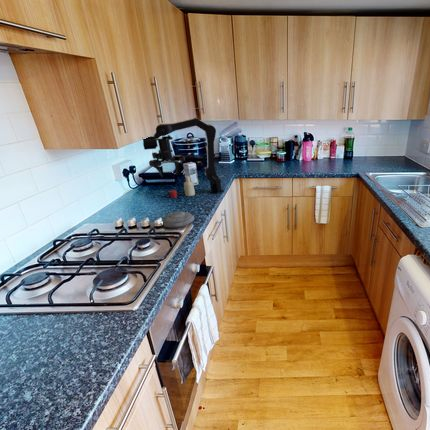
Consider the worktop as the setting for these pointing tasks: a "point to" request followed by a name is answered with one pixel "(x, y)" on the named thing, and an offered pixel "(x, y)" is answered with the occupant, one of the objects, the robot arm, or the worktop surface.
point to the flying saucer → (177, 219)
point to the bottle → (189, 187)
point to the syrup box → (191, 172)
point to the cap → (173, 194)
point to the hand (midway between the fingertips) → (170, 175)
